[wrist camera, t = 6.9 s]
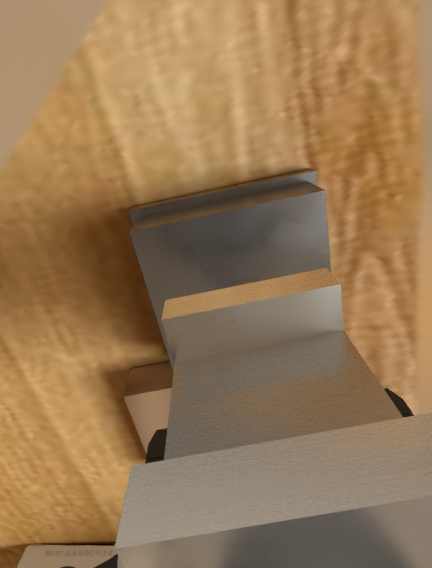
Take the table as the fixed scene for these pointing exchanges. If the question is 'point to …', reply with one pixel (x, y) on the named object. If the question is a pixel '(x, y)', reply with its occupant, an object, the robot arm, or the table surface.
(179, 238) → the stand
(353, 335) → the table surface
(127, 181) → the table surface
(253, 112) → the table surface
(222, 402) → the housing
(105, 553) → the tea box
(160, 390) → the stand
